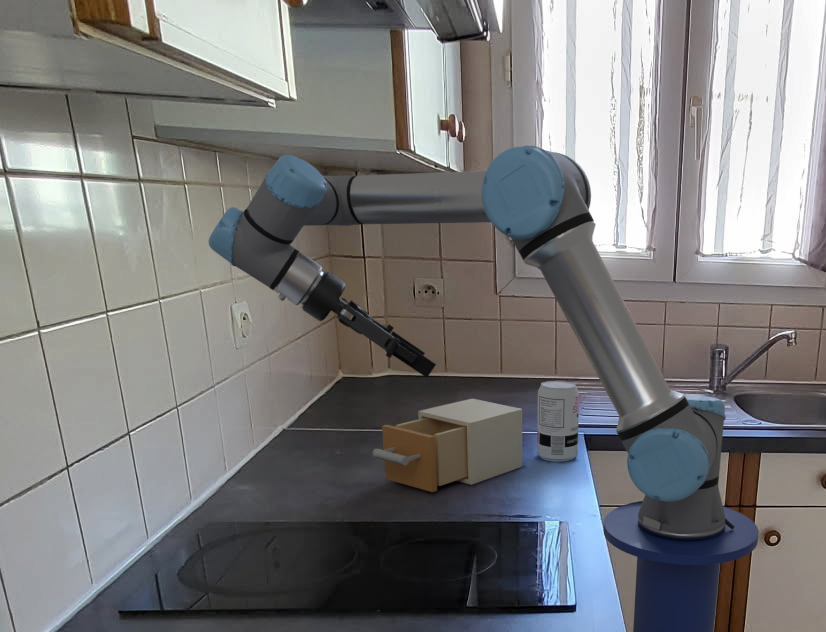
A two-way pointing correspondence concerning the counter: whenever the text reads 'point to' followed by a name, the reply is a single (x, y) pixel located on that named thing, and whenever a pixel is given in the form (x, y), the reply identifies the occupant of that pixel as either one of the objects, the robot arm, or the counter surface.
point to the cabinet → (485, 435)
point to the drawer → (424, 453)
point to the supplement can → (557, 421)
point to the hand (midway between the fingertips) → (425, 364)
